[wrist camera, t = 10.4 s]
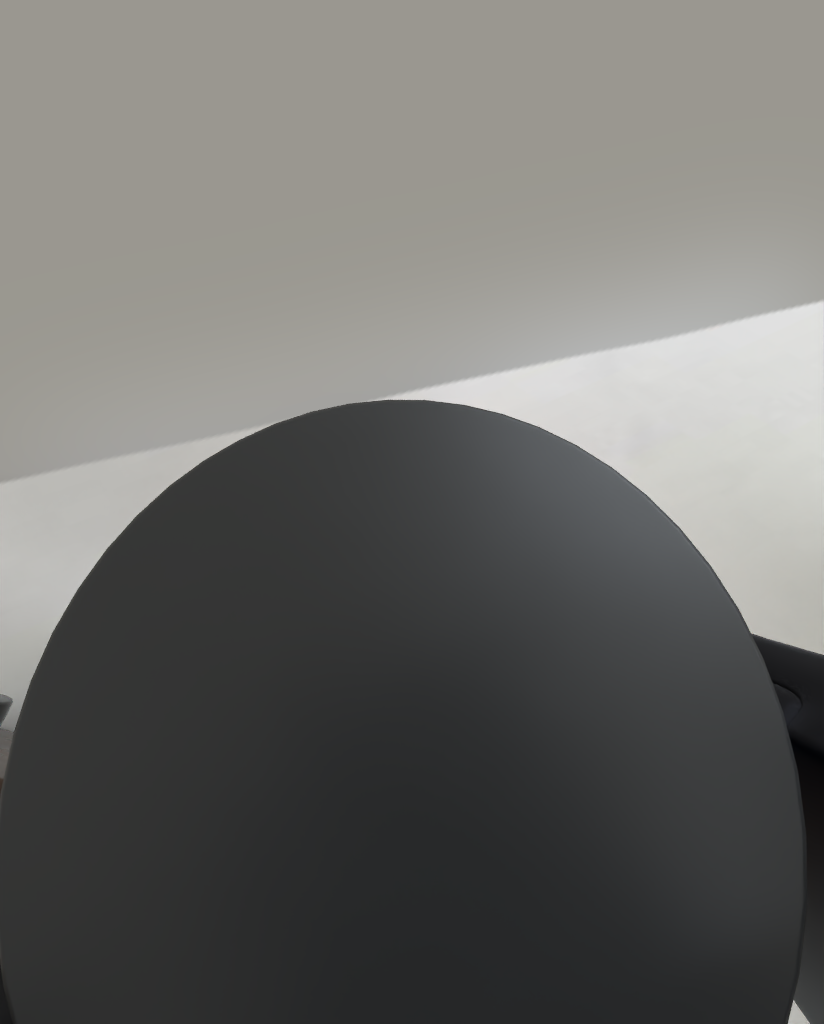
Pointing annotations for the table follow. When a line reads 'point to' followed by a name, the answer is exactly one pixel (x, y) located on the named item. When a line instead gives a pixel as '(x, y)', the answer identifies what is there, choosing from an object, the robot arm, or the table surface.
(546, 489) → the lidded jar
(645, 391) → the table surface
